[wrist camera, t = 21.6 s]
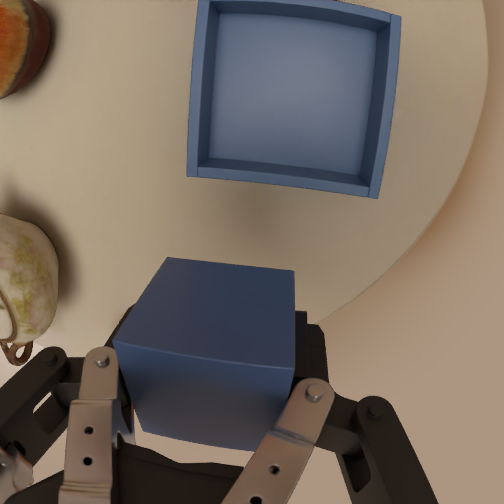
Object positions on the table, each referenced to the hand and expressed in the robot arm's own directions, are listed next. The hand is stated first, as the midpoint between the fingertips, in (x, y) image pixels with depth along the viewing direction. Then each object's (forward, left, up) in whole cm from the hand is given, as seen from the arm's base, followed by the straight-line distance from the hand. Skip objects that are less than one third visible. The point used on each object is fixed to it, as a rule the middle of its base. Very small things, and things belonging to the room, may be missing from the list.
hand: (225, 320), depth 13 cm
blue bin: (-2, -10, -15) cm, 18 cm away
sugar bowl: (+26, +8, -15) cm, 31 cm away
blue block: (0, 0, 0) cm, 0 cm away
